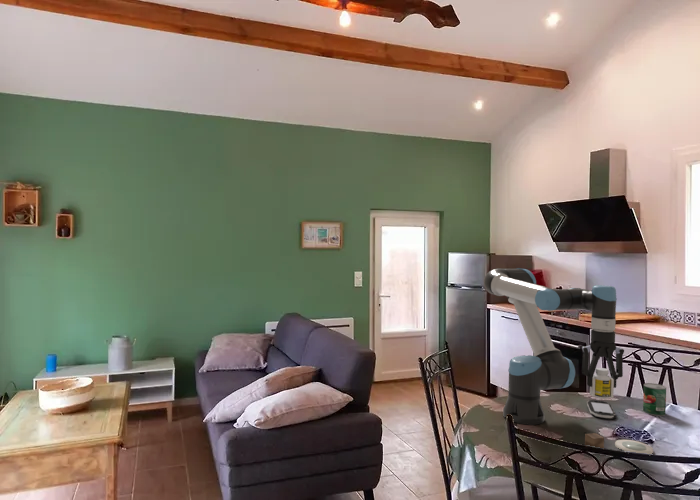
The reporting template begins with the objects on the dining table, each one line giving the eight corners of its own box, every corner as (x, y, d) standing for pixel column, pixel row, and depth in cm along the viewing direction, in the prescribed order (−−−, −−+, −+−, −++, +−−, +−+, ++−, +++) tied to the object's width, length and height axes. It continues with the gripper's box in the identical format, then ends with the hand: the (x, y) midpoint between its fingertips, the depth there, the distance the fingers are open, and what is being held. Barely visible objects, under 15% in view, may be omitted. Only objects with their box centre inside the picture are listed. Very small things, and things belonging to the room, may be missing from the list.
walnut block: (593, 450, 162) (593, 438, 162) (584, 445, 166) (585, 434, 165) (603, 449, 163) (604, 437, 163) (594, 444, 166) (595, 433, 166)
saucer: (623, 454, 159) (623, 451, 159) (609, 440, 170) (609, 438, 170) (660, 456, 158) (660, 453, 158) (643, 442, 169) (643, 440, 169)
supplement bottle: (603, 400, 168) (603, 371, 168) (589, 395, 173) (589, 368, 173) (613, 398, 171) (614, 370, 171) (599, 393, 176) (599, 366, 176)
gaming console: (585, 404, 211) (586, 398, 211) (609, 406, 208) (609, 400, 208) (591, 418, 193) (591, 412, 192) (617, 421, 189) (617, 415, 189)
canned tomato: (638, 411, 201) (639, 384, 201) (649, 408, 205) (650, 382, 205) (659, 417, 194) (659, 389, 194) (669, 414, 198) (670, 387, 198)
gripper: (579, 330, 169) (577, 398, 169) (636, 333, 167) (634, 401, 167) (571, 327, 176) (570, 391, 177) (626, 329, 174) (624, 394, 175)
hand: (601, 396), depth 172 cm, fingers closed on supplement bottle, 5 cm apart
